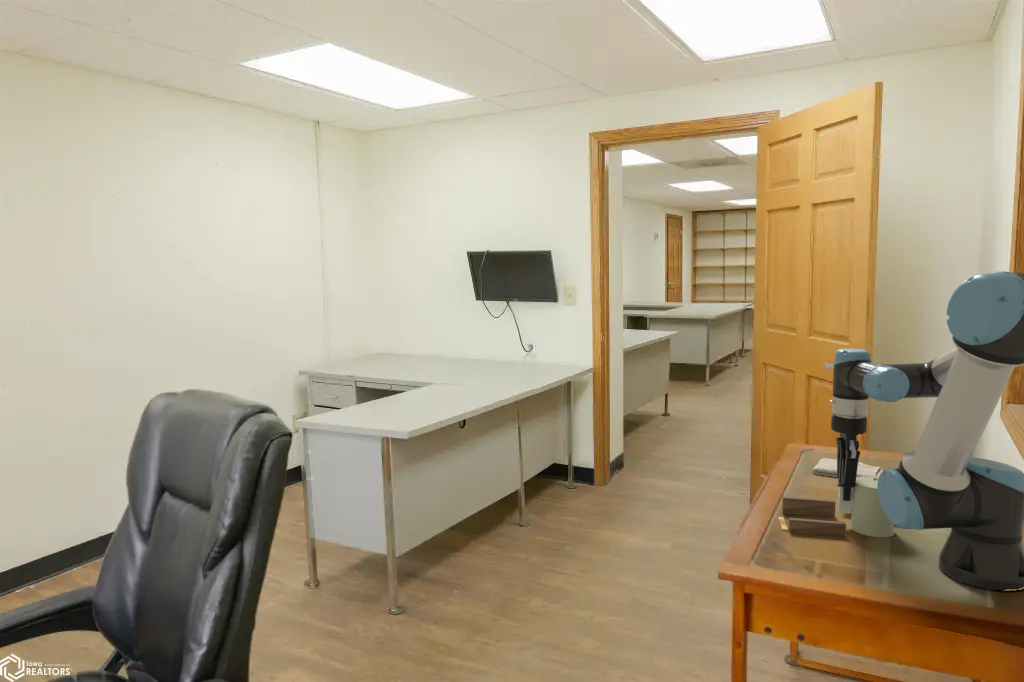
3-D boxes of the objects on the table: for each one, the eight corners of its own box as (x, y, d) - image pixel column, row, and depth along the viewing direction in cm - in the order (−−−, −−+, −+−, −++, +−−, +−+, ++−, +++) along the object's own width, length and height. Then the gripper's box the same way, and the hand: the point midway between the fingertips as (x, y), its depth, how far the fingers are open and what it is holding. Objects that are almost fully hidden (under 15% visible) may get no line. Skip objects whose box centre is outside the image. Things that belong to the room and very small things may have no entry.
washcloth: (878, 486, 192) (879, 475, 192) (810, 475, 203) (811, 465, 202) (884, 475, 202) (884, 465, 202) (818, 465, 212) (819, 455, 212)
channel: (845, 536, 157) (846, 519, 156) (782, 531, 160) (783, 514, 160) (833, 515, 169) (834, 500, 169) (775, 511, 173) (776, 495, 172)
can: (896, 527, 161) (899, 478, 160) (891, 541, 154) (895, 489, 152) (853, 519, 167) (855, 471, 165) (846, 532, 159) (849, 482, 158)
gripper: (826, 408, 167) (822, 501, 170) (837, 420, 154) (832, 520, 157) (860, 409, 165) (855, 503, 168) (874, 422, 152) (868, 523, 155)
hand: (844, 512), depth 162 cm, fingers closed
